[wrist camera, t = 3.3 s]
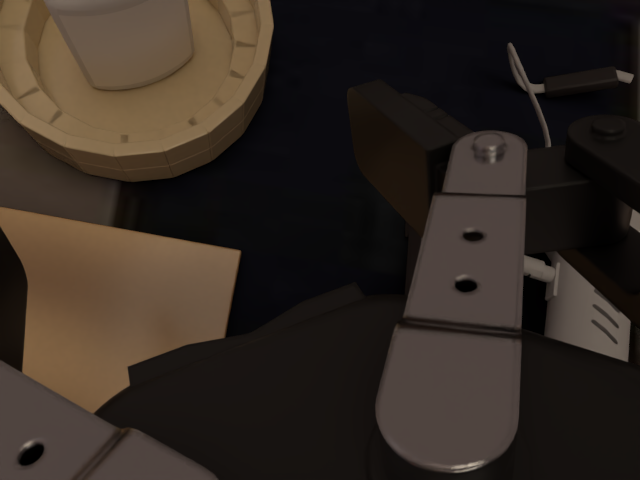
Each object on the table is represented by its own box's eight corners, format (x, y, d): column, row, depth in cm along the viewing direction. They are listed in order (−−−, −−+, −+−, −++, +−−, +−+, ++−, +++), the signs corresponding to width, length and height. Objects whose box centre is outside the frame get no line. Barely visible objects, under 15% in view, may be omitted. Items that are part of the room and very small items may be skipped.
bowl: (41, -78, 31) (9, -149, 27) (286, -21, 32) (294, -79, 28) (-28, 155, 28) (-76, 119, 24) (242, 206, 30) (243, 181, 25)
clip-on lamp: (440, 72, 36) (371, 346, 28) (476, -10, 30) (403, 306, 23) (623, 128, 36) (604, 419, 28) (695, 56, 30) (696, 397, 22)
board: (-7, 208, 28) (-16, 203, 27) (241, 253, 29) (241, 250, 28) (-138, 673, 24) (-154, 686, 23) (156, 701, 25) (153, 715, 24)
